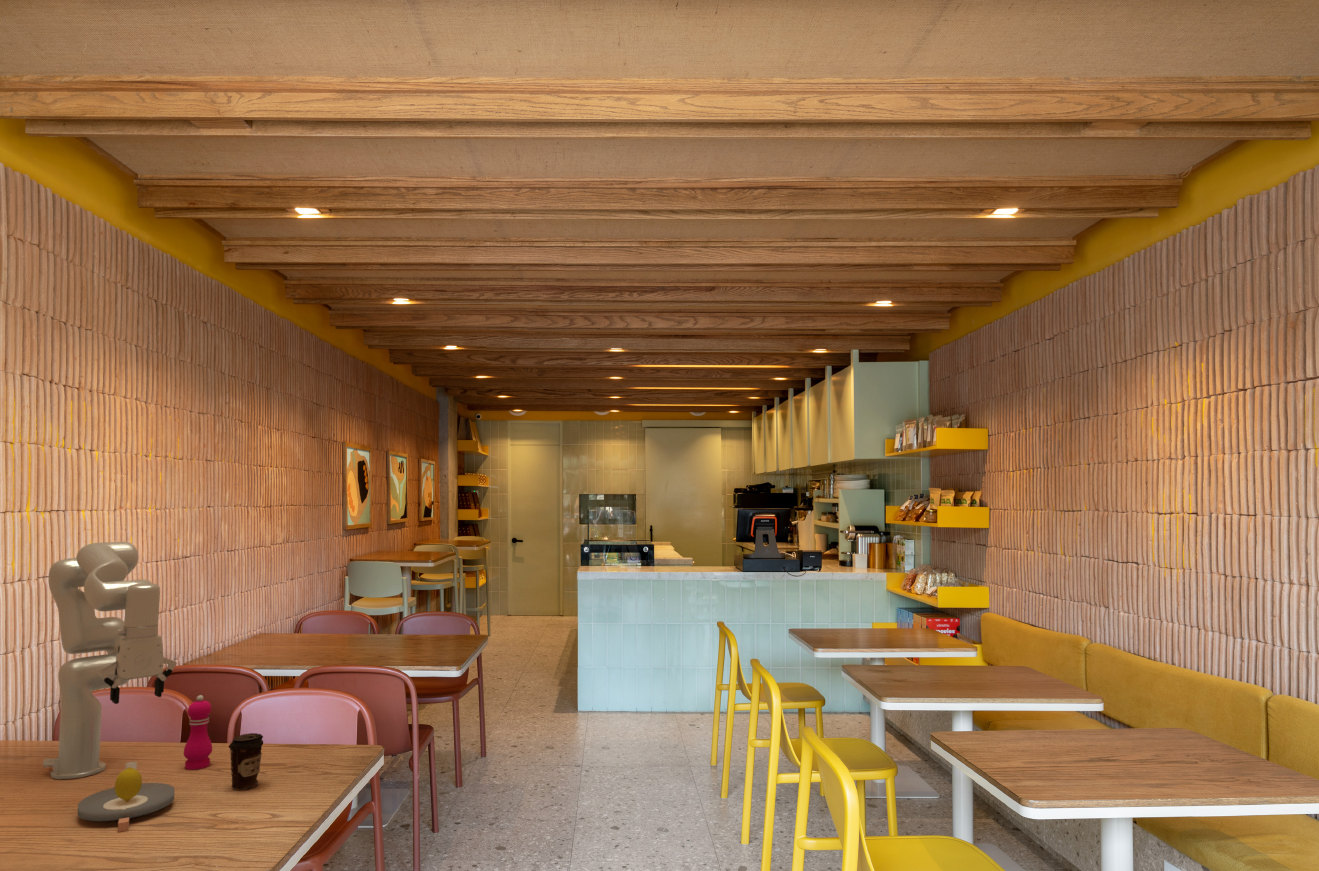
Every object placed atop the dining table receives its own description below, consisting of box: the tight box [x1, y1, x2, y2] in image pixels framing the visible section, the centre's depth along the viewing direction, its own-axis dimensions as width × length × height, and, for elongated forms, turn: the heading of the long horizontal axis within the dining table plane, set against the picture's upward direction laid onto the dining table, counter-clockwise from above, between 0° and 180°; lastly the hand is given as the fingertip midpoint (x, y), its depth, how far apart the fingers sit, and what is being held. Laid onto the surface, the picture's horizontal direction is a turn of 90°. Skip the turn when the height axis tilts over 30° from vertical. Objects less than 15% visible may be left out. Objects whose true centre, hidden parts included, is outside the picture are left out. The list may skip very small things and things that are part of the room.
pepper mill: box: [183, 694, 213, 771], centre depth 239 cm, size 7×7×20 cm
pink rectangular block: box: [117, 817, 130, 833], centre depth 193 cm, size 3×2×2 cm, turn 29°
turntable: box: [77, 761, 176, 822], centre depth 204 cm, size 20×20×8 cm
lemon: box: [114, 767, 143, 801], centre depth 200 cm, size 6×6×8 cm
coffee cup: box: [228, 732, 264, 791], centre depth 222 cm, size 9×8×13 cm
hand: (137, 699), depth 213 cm, fingers open, 9 cm apart
